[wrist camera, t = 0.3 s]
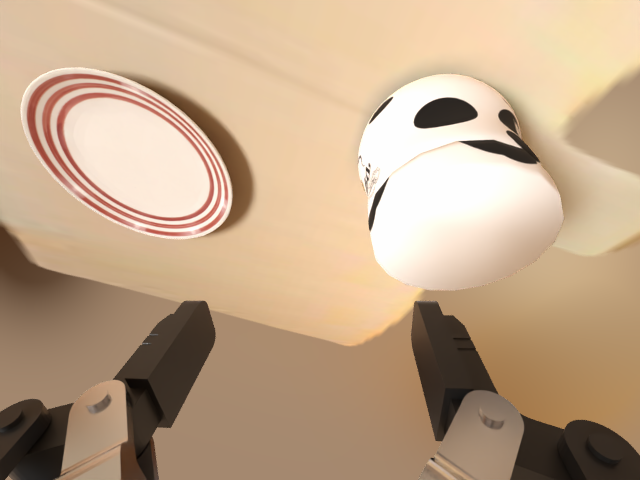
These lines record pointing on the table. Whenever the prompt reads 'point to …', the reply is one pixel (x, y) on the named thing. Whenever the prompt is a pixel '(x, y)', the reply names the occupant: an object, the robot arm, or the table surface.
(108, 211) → the dinner plate
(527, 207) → the milk container
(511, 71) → the table surface
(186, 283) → the table surface
